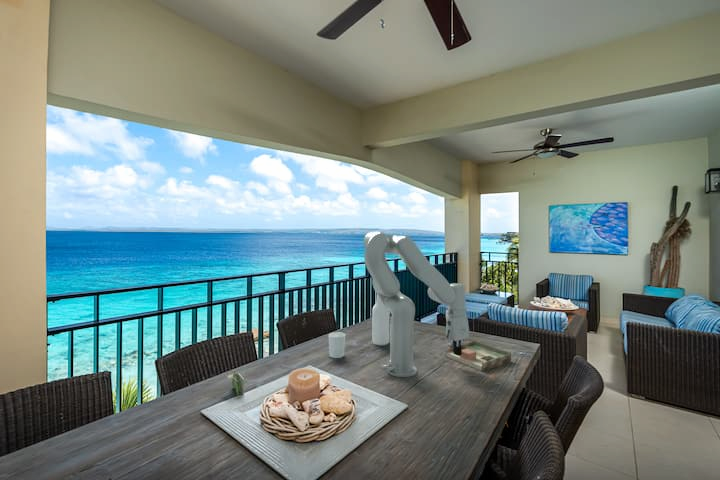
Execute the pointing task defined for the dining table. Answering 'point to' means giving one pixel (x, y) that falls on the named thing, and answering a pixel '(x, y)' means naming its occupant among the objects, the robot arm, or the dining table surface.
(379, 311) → the alcohol
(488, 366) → the box
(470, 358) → the block
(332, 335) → the white cup
